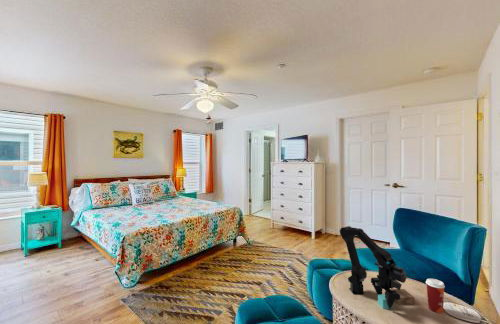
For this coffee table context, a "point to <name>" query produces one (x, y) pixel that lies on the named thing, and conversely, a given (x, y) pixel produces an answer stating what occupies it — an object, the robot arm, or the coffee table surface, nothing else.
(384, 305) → the teal cube
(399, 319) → the coffee table surface
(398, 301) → the walnut block
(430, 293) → the coffee cup
